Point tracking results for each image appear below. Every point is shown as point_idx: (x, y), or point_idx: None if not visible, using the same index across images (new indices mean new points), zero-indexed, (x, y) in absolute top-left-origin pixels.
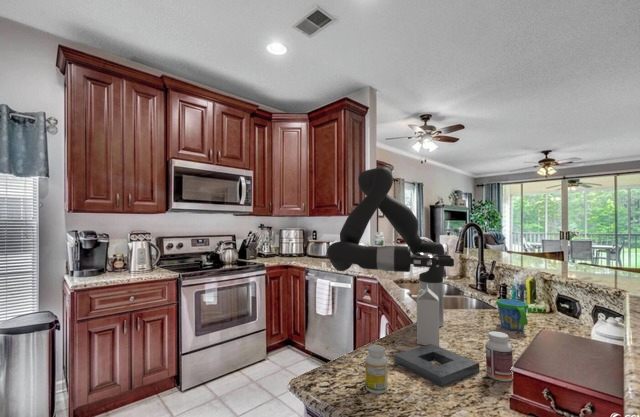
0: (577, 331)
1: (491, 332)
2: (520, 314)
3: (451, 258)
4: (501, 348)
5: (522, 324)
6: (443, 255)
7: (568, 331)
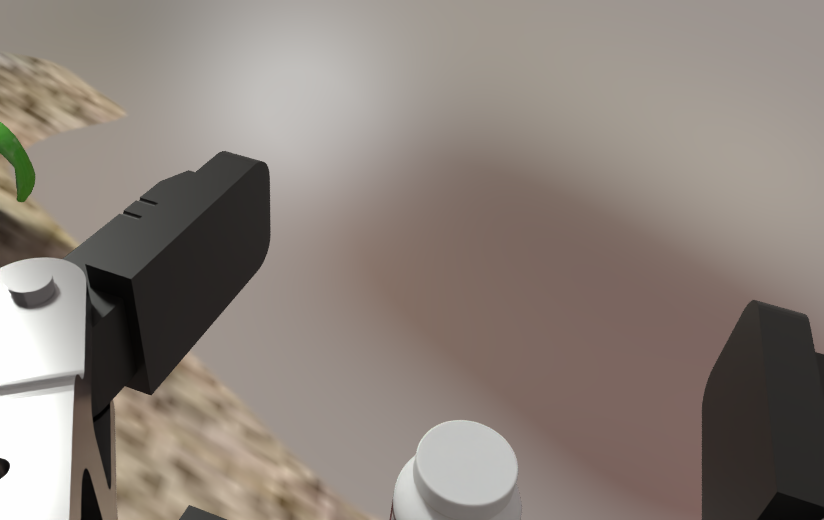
0: (86, 102)
1: (438, 478)
2: (7, 159)
3: (805, 326)
4: (518, 514)
5: (25, 196)
6: (199, 217)
7: (75, 117)
